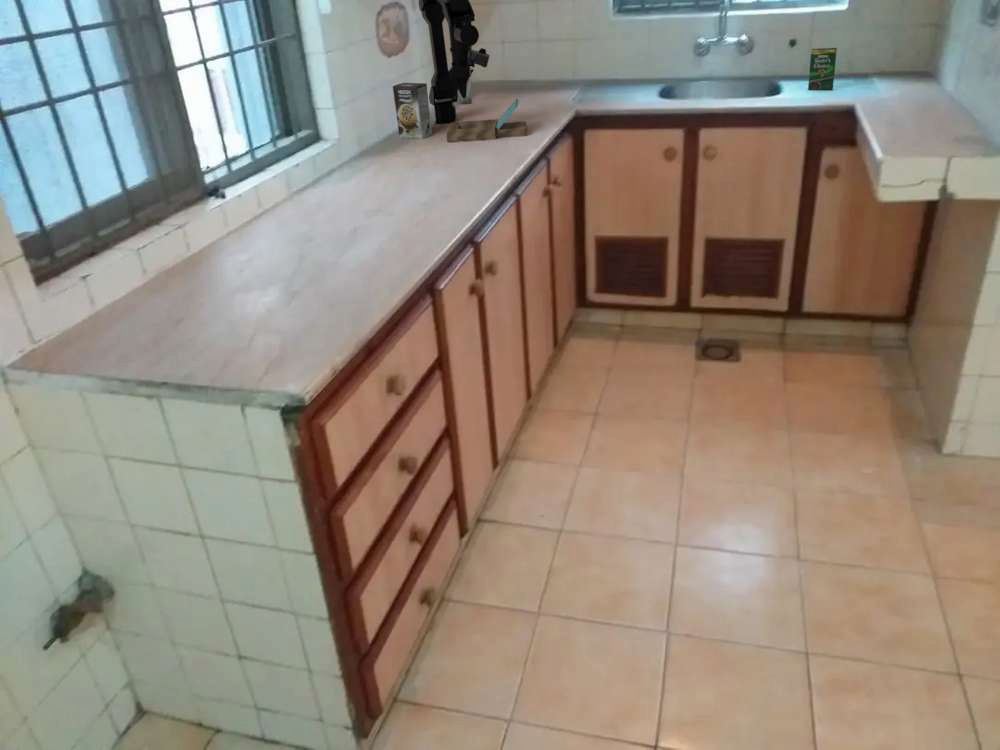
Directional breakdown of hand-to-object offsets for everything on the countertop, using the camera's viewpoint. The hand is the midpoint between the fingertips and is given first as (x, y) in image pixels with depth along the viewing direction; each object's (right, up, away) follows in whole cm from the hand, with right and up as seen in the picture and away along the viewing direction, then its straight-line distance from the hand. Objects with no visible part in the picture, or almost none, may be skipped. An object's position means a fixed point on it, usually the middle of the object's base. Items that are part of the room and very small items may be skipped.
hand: (465, 96), depth 251 cm
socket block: (+7, -10, +5) cm, 13 cm away
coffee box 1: (-16, -9, +11) cm, 22 cm away
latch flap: (+13, -5, +2) cm, 14 cm away
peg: (0, -2, +1) cm, 2 cm away
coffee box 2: (+119, +10, +24) cm, 122 cm away
